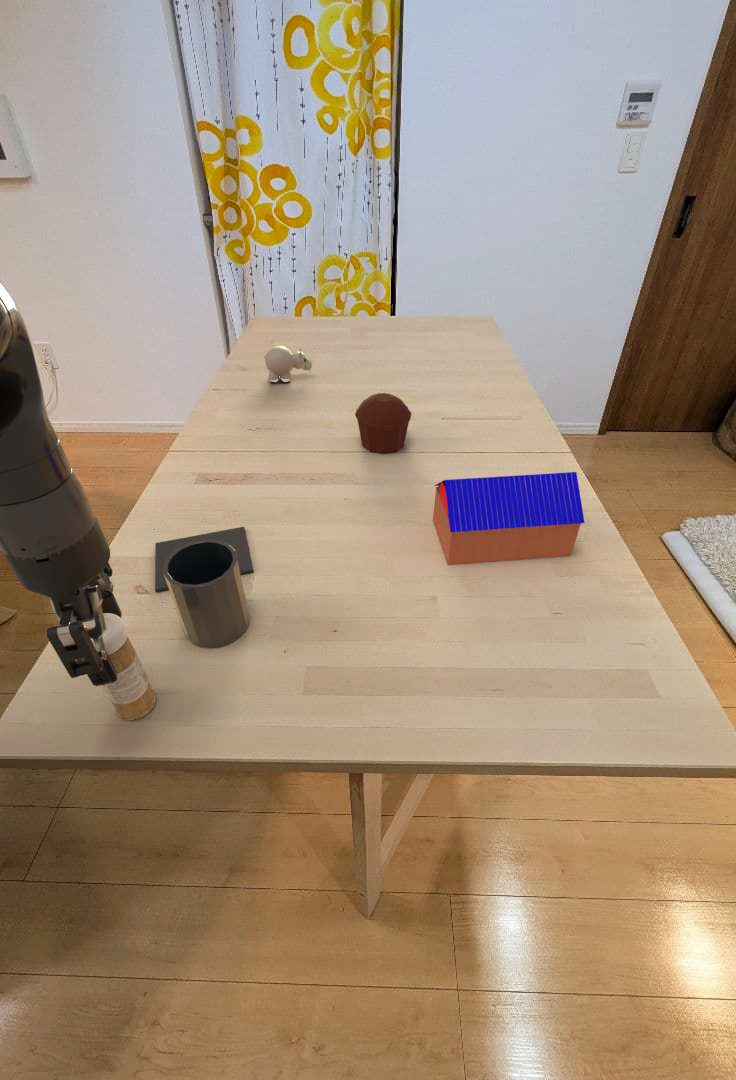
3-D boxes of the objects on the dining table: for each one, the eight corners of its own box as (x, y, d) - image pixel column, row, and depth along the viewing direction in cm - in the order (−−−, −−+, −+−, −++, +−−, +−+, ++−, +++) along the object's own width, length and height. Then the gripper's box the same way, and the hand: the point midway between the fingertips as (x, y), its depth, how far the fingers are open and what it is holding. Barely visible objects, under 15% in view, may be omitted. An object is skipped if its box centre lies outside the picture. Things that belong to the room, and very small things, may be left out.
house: (573, 557, 80) (594, 494, 72) (446, 566, 78) (453, 503, 71) (544, 511, 89) (560, 451, 82) (430, 518, 88) (436, 458, 80)
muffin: (417, 453, 105) (420, 406, 98) (365, 461, 102) (364, 414, 96) (398, 426, 113) (400, 382, 107) (349, 433, 111) (348, 389, 105)
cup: (185, 655, 66) (163, 594, 59) (183, 607, 72) (163, 547, 65) (253, 639, 68) (240, 578, 61) (245, 594, 74) (232, 534, 67)
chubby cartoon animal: (314, 383, 132) (312, 350, 126) (266, 386, 131) (262, 352, 125) (313, 373, 137) (311, 340, 132) (267, 375, 136) (263, 342, 131)
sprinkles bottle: (118, 692, 62) (77, 615, 53) (158, 684, 62) (124, 607, 54) (114, 726, 58) (69, 650, 50) (156, 717, 59) (119, 641, 50)
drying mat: (155, 592, 74) (154, 589, 74) (156, 545, 82) (155, 542, 82) (253, 572, 78) (253, 569, 77) (244, 529, 86) (244, 526, 85)
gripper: (14, 488, 48) (78, 608, 58) (-27, 593, 37) (60, 718, 48) (101, 474, 50) (148, 594, 60) (85, 571, 39) (146, 696, 49)
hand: (109, 649), depth 54 cm, fingers open, 8 cm apart
